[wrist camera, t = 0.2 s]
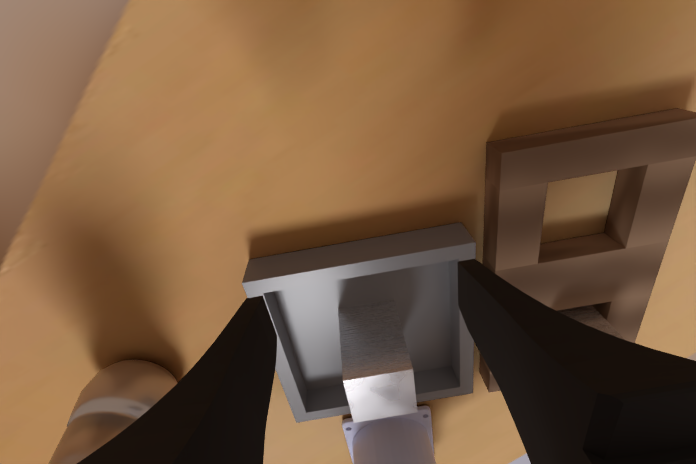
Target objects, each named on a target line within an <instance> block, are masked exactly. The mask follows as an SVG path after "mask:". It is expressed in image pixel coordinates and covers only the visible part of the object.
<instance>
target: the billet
mask: <svg viewBox="0 0 696 464" xmlns="http://www.w3.org/2000/svg"><path fill="white" fill-rule="evenodd" d="M338 317H339V332H340V346H341V361H342V375H343V383H344V387H345V391H346V395H347V399H348V403H349V407H350V411H351V414H352V418H353V422H354V423H357V422H363V421H369V420H375V419H381V418H387V417H393V416H399V415H405V414H411V413H417V412H418V411H417V402H416V393H415V383H414V374H413V367H412V364H411V360H410V356H409V353H408V349H407V346H406V342H405V338H404V335H403V331H402V328H401V324H400V320H399V317H398V313H397V309H396V306H395V302H394V299H393V300H387V301H381V302H376V303H370V304H364V305H358V306H352V307H347V308H341V309H338Z"/></svg>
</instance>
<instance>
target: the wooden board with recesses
mask: <svg viewBox="0 0 696 464" xmlns="http://www.w3.org/2000/svg"><path fill="white" fill-rule="evenodd" d="M695 160H696V112H692V111H687V110H683V109H678V108H676V109H671V110H665V111H660V112H654V113H649V114H643V115H638V116H632V117H626V118H621V119H615V120H610V121H604V122H599V123H593V124H588V125H582V126H576V127H571V128H565V129H560V130H554V131H549V132H543V133H538V134H532V135H526V136H521V137H515V138H510V139H504V140H499V141H493V142H487V144H486V176H485V208H484V240H483V265H484V266H485V267H487V268H488V269H489V270H491V271H492V272H494V273H495V274H497V275H498V276H500V277H501V278H502V279H504V280H505V281H507V282H508V283H510V284H511V285H513V286H514V287H516V288H518V289H519V290H521V291H522V292H524V293H526V294H527V295H529V296H531V297H532V298H534V299H536V300H537V301H539V302H541V303H543V304H544V305H546V306H548V307H550V308H552V309H554V310H556V311H558V310H563V309H569V308H575V307H581V306H587V305H592V306H593V307H594V308H595V309H596V310H597V311H598V312H599V313H600V314H601V315H602V316H603V317H604V318H605V319H606V320H607V321H608V322H609V323H610V324H611V325H612V327H613V328H614V329H615V330H616V331H617V332H618V333H619V334H620V335H621V336H622V337H623V338H624V339H625V340H627V341H630V342H633V343H635V340H636V337H637V334H638V331H639V328H640V325H641V322H642V319H643V316H644V313H645V310H646V307H647V304H648V301H649V298H650V295H651V292H652V289H653V286H654V283H655V280H656V277H657V274H658V271H659V268H660V265H661V262H662V259H663V256H664V253H665V250H666V247H667V244H668V241H669V238H670V235H671V232H672V229H673V226H674V223H675V220H676V217H677V214H678V211H679V208H680V205H681V202H682V199H683V196H684V193H685V190H686V187H687V184H688V181H689V178H690V175H691V172H692V169H693V166H694V163H695ZM615 170H618V173H617V178H616V182H615V187H614V191H613V196H612V200H611V204H610V209H609V213H608V218H607V222H606V227H605V231H604V233H600V234H595V235H589V236H583V237H577V238H572V239H566V240H560V241H554V242H549V243H543V244H540V241H541V233H542V225H543V217H544V209H545V201H546V193H547V185H548V182H553V181H559V180H565V179H570V178H576V177H582V176H587V175H593V174H598V173H604V172H610V171H615ZM479 372H480V374H481V376H482V378H483V381H484V383H485V385H486V387H487V389H488V391H489V392H494V391H500V388H499V386H498V384H497V382H496V380H495V378H494V377H493V375H492V373H491V371H490V369H489V367H488V366H487V364H486V362H485V360H484V358H483V357H482V355H481V353H480V368H479Z"/></svg>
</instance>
